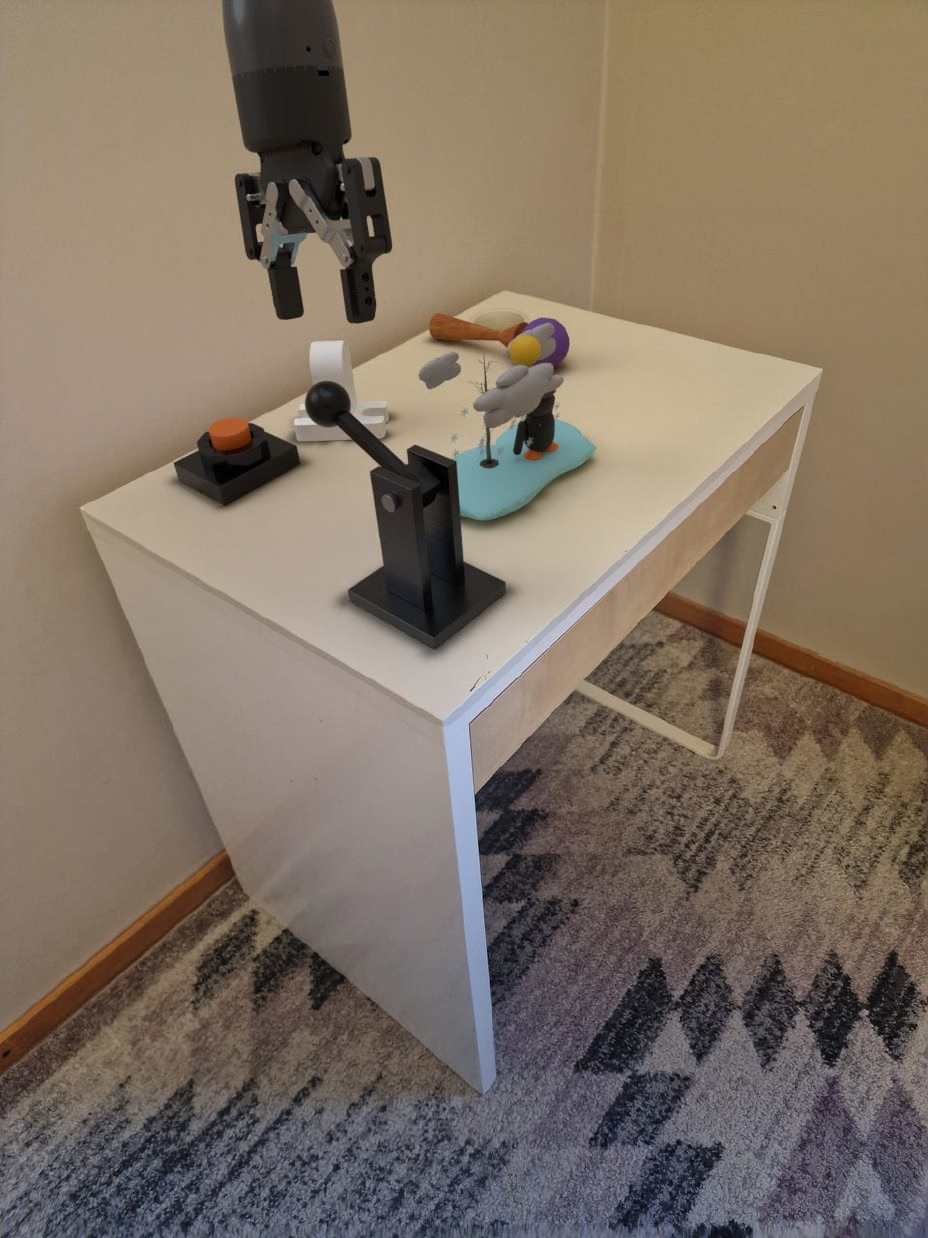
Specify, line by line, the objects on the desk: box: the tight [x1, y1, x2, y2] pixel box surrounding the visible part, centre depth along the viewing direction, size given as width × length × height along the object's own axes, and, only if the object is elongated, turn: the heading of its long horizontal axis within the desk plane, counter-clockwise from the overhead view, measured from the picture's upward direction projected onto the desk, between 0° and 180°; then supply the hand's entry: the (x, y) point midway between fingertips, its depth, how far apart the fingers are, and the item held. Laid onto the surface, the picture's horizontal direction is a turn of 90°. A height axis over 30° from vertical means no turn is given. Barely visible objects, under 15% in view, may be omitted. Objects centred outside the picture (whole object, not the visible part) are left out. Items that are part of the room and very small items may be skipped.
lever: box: [304, 381, 441, 508], centre depth 67 cm, size 13×4×4 cm, turn 49°
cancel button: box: [208, 417, 252, 450], centre depth 87 cm, size 4×4×2 cm
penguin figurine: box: [418, 323, 597, 521], centre depth 81 cm, size 20×11×15 cm, turn 135°
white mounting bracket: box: [293, 339, 390, 442], centre depth 93 cm, size 5×10×10 cm, turn 88°
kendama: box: [428, 312, 570, 368], centre depth 107 cm, size 6×6×20 cm
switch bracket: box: [347, 444, 507, 650], centre depth 69 cm, size 10×9×13 cm
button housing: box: [172, 422, 301, 507], centre depth 89 cm, size 10×8×4 cm
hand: (325, 320), depth 65 cm, fingers open, 8 cm apart
